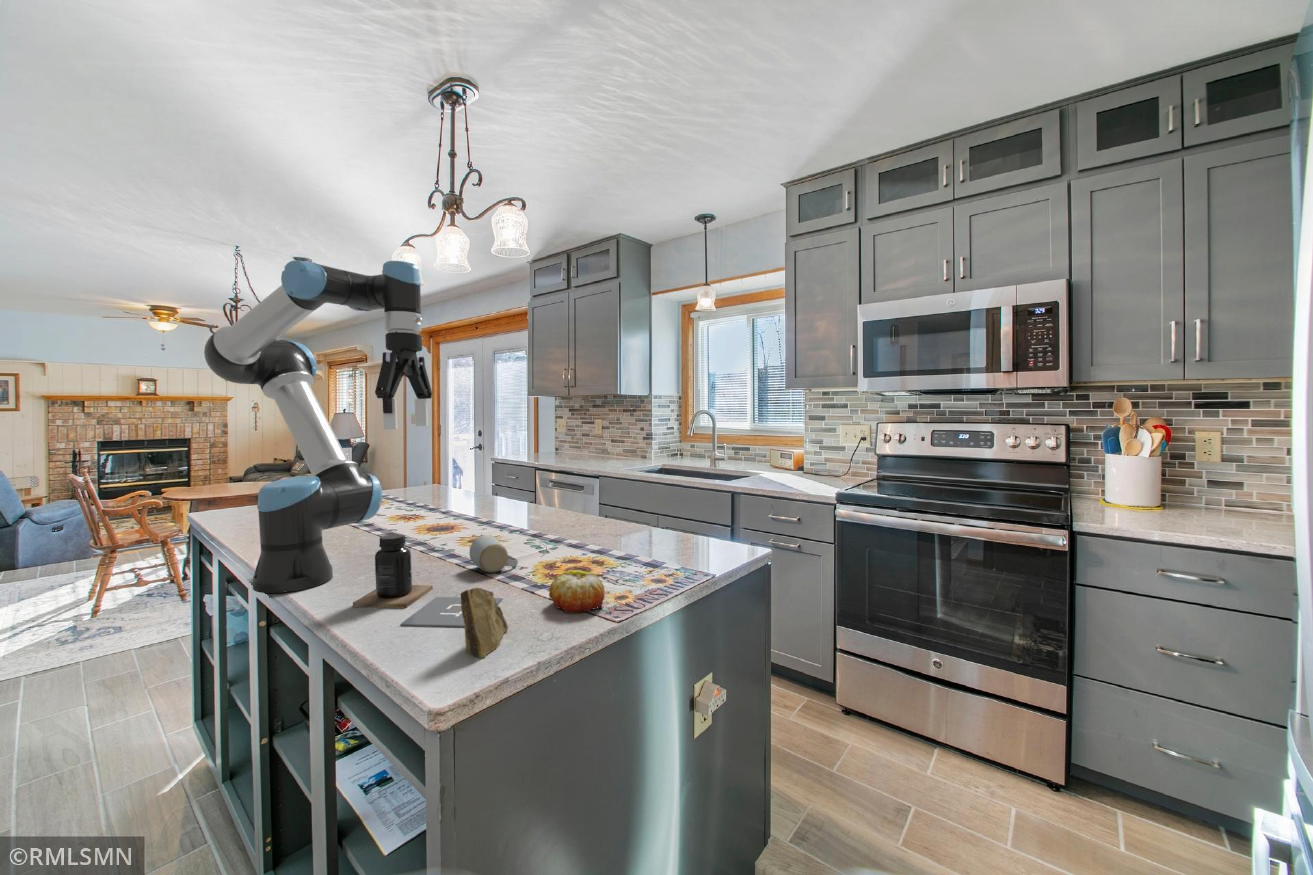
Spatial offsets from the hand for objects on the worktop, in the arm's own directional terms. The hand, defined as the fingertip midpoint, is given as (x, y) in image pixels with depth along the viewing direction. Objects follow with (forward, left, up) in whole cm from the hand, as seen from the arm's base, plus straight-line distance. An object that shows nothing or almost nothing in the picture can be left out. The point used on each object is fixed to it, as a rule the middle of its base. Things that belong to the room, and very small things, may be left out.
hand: (407, 427), depth 126 cm
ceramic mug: (+17, +8, -35) cm, 40 cm away
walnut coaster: (+3, -13, -35) cm, 37 cm away
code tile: (+19, -20, -35) cm, 44 cm away
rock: (+31, -33, -35) cm, 57 cm away
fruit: (+42, -15, -35) cm, 57 cm away
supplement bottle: (+3, -13, -34) cm, 37 cm away
